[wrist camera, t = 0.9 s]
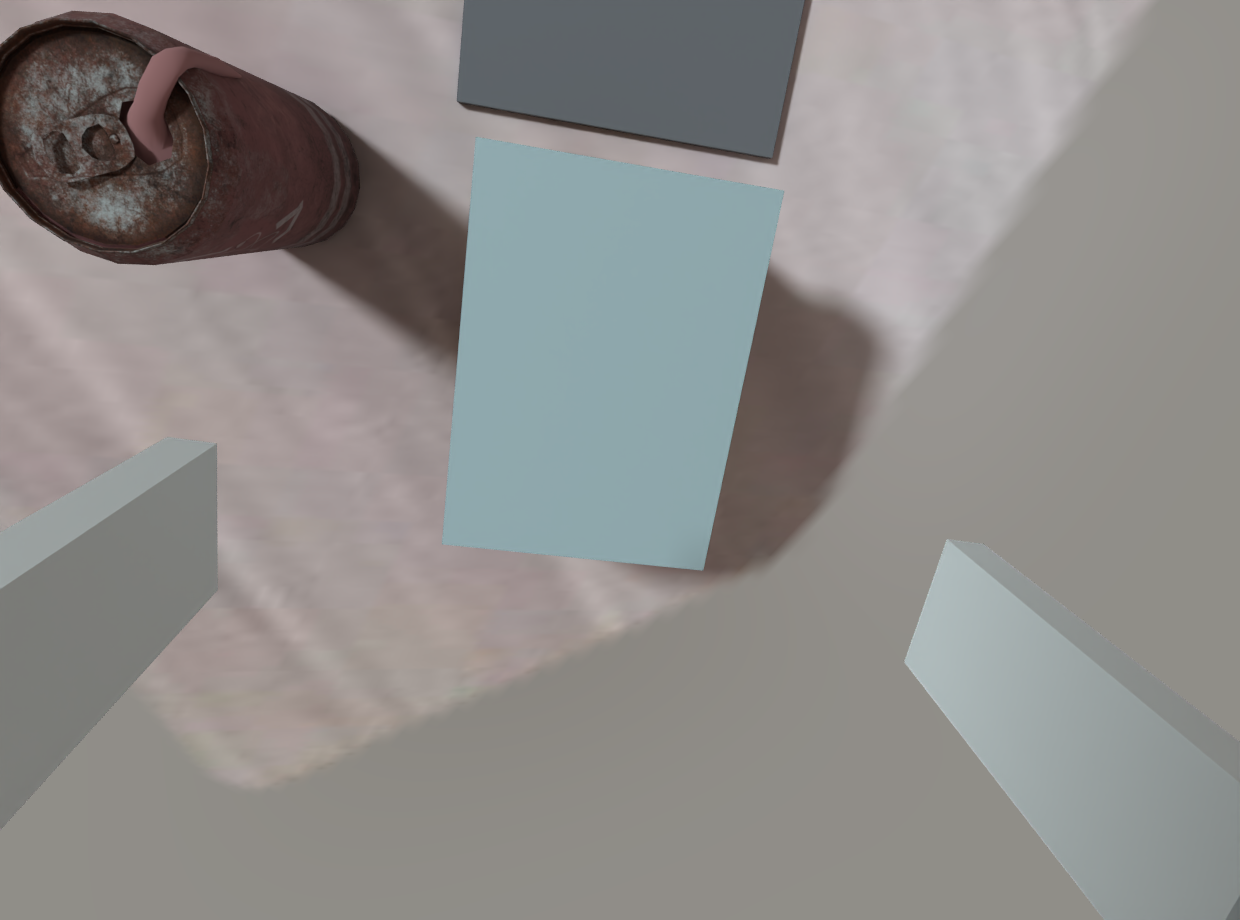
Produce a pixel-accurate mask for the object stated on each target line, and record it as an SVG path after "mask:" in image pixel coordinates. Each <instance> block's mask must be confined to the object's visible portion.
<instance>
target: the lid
mask: <svg viewBox="0 0 1240 920" xmlns="http://www.w3.org/2000/svg"><path fill="white" fill-rule="evenodd" d="M783 194H784V191H783V190H777V189H771V188H766V187H760V186H754V185H748V184H743V183H737V182H731V181H726V180H720V179H714V178H708V177H703V176H697V175H691V174H685V173H680V172H674V171H668V170H663V169H657V168H651V167H645V166H640V165H634V164H628V163H623V162H617V161H611V160H605V159H600V158H594V157H588V156H583V155H577V154H571V153H565V152H560V151H554V150H548V149H542V148H537V147H531V146H525V145H520V144H514V143H508V142H502V141H497V140H491V139H485V138H480V137H476V141H475V153H474V165H473V177H472V189H471V201H470V213H469V225H468V237H467V249H466V261H465V273H464V285H463V297H462V309H461V321H460V334H459V346H458V358H457V370H456V382H455V394H454V406H453V418H452V430H451V442H450V454H449V466H448V478H447V490H446V502H445V514H444V526H443V538H442V544H445V545H455V546H465V547H475V548H484V549H494V550H504V551H514V552H524V553H534V554H544V555H554V556H564V557H574V558H583V559H593V560H603V561H613V562H623V563H633V564H643V565H653V566H663V567H673V568H682V569H692V570H702V571H703V569H704V565H705V560H706V555H707V551H708V546H709V541H710V537H711V532H712V527H713V522H714V518H715V513H716V508H717V504H718V499H719V494H720V490H721V485H722V480H723V476H724V471H725V466H726V462H727V457H728V452H729V447H730V443H731V438H732V433H733V429H734V424H735V419H736V415H737V410H738V405H739V401H740V396H741V391H742V387H743V382H744V377H745V372H746V368H747V363H748V358H749V354H750V349H751V344H752V340H753V335H754V330H755V326H756V321H757V316H758V312H759V307H760V302H761V298H762V293H763V288H764V283H765V279H766V274H767V269H768V265H769V260H770V255H771V251H772V246H773V241H774V237H775V232H776V227H777V223H778V218H779V213H780V208H781V204H782V199H783Z"/></svg>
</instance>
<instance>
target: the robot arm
mask: <svg viewBox="0 0 1240 920" xmlns="http://www.w3.org/2000/svg"><path fill="white" fill-rule="evenodd" d="M217 590H218V578H217V443H210V442H202V441H194V440H187V439H179V438H171V437H167V438H165V439H163V440H161V441H160V442H158V443H156V444H154V445H153V446H151V447H149V448H147V449H146V450H144V451H142V452H140V453H138V454H137V455H135V456H133V457H131V458H130V459H128V460H126V461H124V462H123V463H121V464H119V465H117V466H116V467H114V468H112V469H110V470H109V471H107V472H105V473H103V474H102V475H100V476H98V477H96V478H95V479H93V480H91V481H89V482H88V483H86V484H84V485H82V486H81V487H79V488H77V489H75V490H74V491H72V492H70V493H68V494H67V495H65V496H63V497H61V498H60V499H58V500H56V501H54V502H53V503H51V504H49V505H47V506H46V507H44V508H42V509H40V510H39V511H37V512H35V513H33V514H32V515H30V516H28V517H26V518H25V519H23V520H21V521H19V522H18V523H16V524H14V525H12V526H11V527H9V528H7V529H5V530H4V531H2V532H0V830H1V829H2V828H3V827H4V825H5V824H6V823H7V822H8V821H9V820H10V819H11V818H12V817H13V816H14V814H15V813H16V812H17V811H18V810H19V809H20V808H21V807H22V806H23V804H24V803H25V802H26V801H27V800H28V799H29V798H30V797H31V796H32V795H33V793H34V792H35V791H36V790H37V789H38V788H39V787H40V786H41V785H42V783H43V782H44V781H45V780H46V779H47V778H48V777H49V776H50V775H51V773H52V772H53V771H54V770H55V769H56V768H57V767H58V766H59V765H60V763H61V762H62V761H63V760H64V759H65V758H66V757H67V756H68V755H69V754H70V753H71V751H72V750H73V749H74V748H75V747H76V746H77V745H78V744H79V743H80V741H81V740H82V739H83V738H84V737H85V736H86V735H87V734H88V733H89V731H90V730H91V729H92V728H93V727H94V726H95V725H96V724H97V723H98V721H99V720H100V719H101V718H102V717H103V716H104V715H105V714H106V713H107V712H108V711H109V709H110V708H111V707H112V706H113V705H114V704H115V703H116V702H117V701H118V699H119V698H120V697H121V696H122V695H123V694H124V693H125V692H126V691H127V690H128V688H129V687H130V686H131V685H132V684H133V683H134V682H135V681H136V680H137V678H138V677H139V676H140V675H141V674H142V673H143V672H144V671H145V670H146V669H147V667H148V666H149V665H150V664H151V663H152V662H153V661H154V660H155V659H156V658H157V656H158V655H159V654H160V653H161V652H162V651H163V650H164V649H165V648H166V646H167V645H168V644H169V643H170V642H171V641H172V640H173V639H174V638H175V637H176V635H177V634H178V633H179V632H180V631H181V630H182V629H183V628H184V627H185V625H186V624H187V623H188V622H189V621H190V620H191V619H192V618H193V617H194V616H195V614H196V613H197V612H198V611H199V610H200V609H201V608H202V607H203V606H204V604H205V603H206V602H207V601H208V600H209V599H210V598H211V597H212V596H213V595H214V593H215V592H216V591H217ZM904 662H905V664H906V665H907V666H908V668H909V669H910V670H911V671H912V673H913V674H914V675H915V676H916V678H917V679H918V680H919V682H920V683H921V684H922V685H923V687H924V688H925V689H926V691H927V692H928V693H929V695H930V696H931V697H932V699H933V700H934V701H935V702H936V704H937V705H938V706H939V708H940V709H941V710H942V711H943V713H944V714H945V715H946V717H947V718H948V719H949V720H950V722H951V723H952V724H953V725H954V727H955V728H956V729H957V731H958V732H959V733H960V735H961V736H962V737H963V738H964V740H965V741H966V742H967V744H968V745H969V746H970V747H971V749H972V750H973V751H974V753H975V754H976V755H977V756H978V758H979V759H980V760H981V762H982V763H983V764H984V766H985V767H986V768H987V769H988V771H989V772H990V773H991V775H992V776H993V777H994V778H995V780H996V781H997V782H998V783H999V785H1000V786H1001V787H1002V789H1003V790H1004V791H1005V793H1006V794H1007V795H1008V797H1009V798H1010V799H1011V800H1012V802H1013V803H1014V804H1015V806H1016V807H1017V808H1018V809H1019V811H1020V812H1021V813H1022V815H1023V816H1024V817H1025V818H1026V820H1027V821H1028V822H1029V823H1030V825H1031V826H1032V827H1033V829H1034V830H1035V831H1036V833H1037V834H1038V835H1039V836H1040V838H1041V839H1042V840H1043V841H1044V843H1045V844H1046V845H1047V847H1048V848H1049V849H1050V851H1051V852H1052V853H1053V855H1054V856H1055V857H1056V858H1057V860H1058V861H1059V862H1060V864H1061V865H1062V866H1063V867H1064V869H1065V870H1066V871H1067V872H1068V874H1069V875H1070V876H1071V878H1072V879H1073V880H1074V882H1075V883H1076V884H1077V885H1078V887H1079V888H1080V889H1081V891H1082V892H1083V893H1084V894H1085V896H1086V897H1087V898H1088V900H1089V901H1090V902H1091V904H1092V905H1093V906H1094V907H1095V909H1096V910H1097V911H1098V913H1099V914H1100V915H1101V916H1102V918H1103V919H1104V920H1240V741H1238V740H1237V739H1235V738H1234V737H1233V736H1232V735H1231V734H1229V733H1228V732H1227V731H1225V730H1224V729H1223V728H1221V727H1220V726H1219V725H1218V724H1216V723H1215V722H1214V721H1212V720H1211V719H1210V718H1208V717H1207V716H1206V715H1205V714H1203V713H1202V712H1201V711H1199V710H1198V709H1196V707H1194V706H1193V705H1192V704H1190V703H1189V702H1188V701H1186V700H1185V699H1184V698H1183V697H1181V696H1180V695H1178V694H1177V693H1176V692H1175V691H1173V690H1172V689H1171V688H1170V687H1168V686H1167V685H1166V684H1164V683H1163V682H1162V681H1161V680H1159V679H1158V678H1156V677H1155V676H1154V675H1153V674H1151V673H1150V672H1149V671H1148V670H1146V669H1145V668H1144V667H1142V666H1141V665H1140V664H1139V663H1137V662H1136V661H1135V660H1133V659H1132V658H1131V657H1129V656H1128V655H1127V654H1125V653H1124V652H1123V651H1122V650H1120V649H1119V648H1118V647H1117V646H1115V645H1114V644H1113V643H1111V642H1110V641H1109V640H1107V639H1106V638H1105V637H1104V636H1102V635H1101V634H1099V633H1098V632H1097V631H1096V630H1095V629H1093V628H1092V627H1091V626H1089V625H1088V624H1087V623H1085V622H1084V621H1083V620H1081V619H1080V618H1079V617H1078V616H1076V615H1075V614H1074V613H1072V612H1071V611H1070V610H1069V609H1067V608H1066V607H1064V606H1063V605H1062V604H1061V603H1060V602H1058V601H1057V600H1056V599H1054V598H1053V597H1052V596H1050V595H1049V594H1048V593H1047V592H1045V591H1044V590H1042V589H1041V588H1040V587H1039V586H1037V585H1036V584H1035V583H1034V582H1032V581H1031V580H1030V579H1028V578H1027V577H1026V576H1025V575H1023V574H1022V573H1021V572H1019V571H1018V570H1017V569H1015V568H1014V567H1013V566H1011V565H1010V564H1009V563H1008V562H1006V561H1005V560H1004V559H1003V558H1001V557H1000V556H999V555H997V554H996V553H995V552H993V551H992V550H991V549H989V548H988V547H987V546H986V545H984V544H980V543H972V542H964V541H957V540H949V539H947V541H946V544H945V546H944V549H943V552H942V555H941V558H940V561H939V564H938V567H937V570H936V572H935V575H934V578H933V581H932V584H931V587H930V590H929V592H928V596H927V598H926V601H925V604H924V607H923V610H922V613H921V615H920V618H919V621H918V624H917V627H916V630H915V633H914V635H913V638H912V641H911V644H910V647H909V650H908V653H907V656H906V658H905V661H904Z"/></svg>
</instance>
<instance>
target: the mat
mask: <svg viewBox="0 0 1240 920" xmlns="http://www.w3.org/2000/svg"><path fill="white" fill-rule="evenodd" d="M804 1H805V0H464V11H463V24H462V38H461V51H460V65H459V78H458V91H457V102H459V103H465V104H470V105H476V106H481V107H487V108H492V109H498V110H503V111H509V112H515V113H520V114H526V115H531V116H537V117H542V118H548V119H553V120H559V121H564V122H570V123H576V124H581V125H587V126H592V127H598V128H603V129H609V130H614V131H620V132H625V133H631V134H637V135H642V136H648V137H653V138H659V139H664V140H670V141H675V142H681V143H686V144H692V145H697V146H703V147H709V148H714V149H720V150H725V151H731V152H736V153H742V154H747V155H753V156H758V157H764V158H772V157H773V152H774V147H775V142H776V137H777V133H778V128H779V123H780V118H781V113H782V108H783V103H784V98H785V94H786V89H787V84H788V79H789V74H790V69H791V64H792V60H793V55H794V50H795V45H796V40H797V35H798V30H799V25H800V21H801V16H802V11H803V6H804Z"/></svg>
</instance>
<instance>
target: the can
mask: <svg viewBox="0 0 1240 920" xmlns="http://www.w3.org/2000/svg"><path fill="white" fill-rule="evenodd" d="M0 185H1V186H2V188H3V190H4V191H5V192H6V193H7V194H8V195H9V196H10V197H11V198H12V200H13V201H14V202H15V203H16V204H17V205H18V206H19V207H20V208H21V209H22V210H23V211H24V213H25V214H26V215H27V216H28V217H29V218H30V219H31V220H33V221H34V222H36V223H37V224H39V225H40V226H42V227H43V228H45V229H46V230H48V231H50V232H51V233H53V234H54V235H56V236H57V237H59V238H60V239H62V240H63V241H66V242H68V243H69V244H71V245H72V246H74V247H75V248H77V249H78V250H80V251H82V252H85V253H88V254H91V255H94V256H97V257H100V258H103V259H106V260H109V261H112V262H115V263H118V264H142V265H159V264H167V263H174V262H182V261H190V260H198V259H206V258H214V257H222V256H230V255H238V254H246V253H254V252H262V251H270V250H278V249H286V248H293V247H301V246H307V245H310V244H314V243H317V242H320V241H324V240H326V239H328V238H329V237H330V236H332V235H333V234H334V233H336V232H337V231H338V230H340V229H341V228H342V227H343V226H344V224H345V223H346V221H347V220H348V218H349V217H350V215H351V214H352V212H353V211H354V209H355V205H356V201H357V197H358V193H359V189H360V181H359V167H358V161H357V159H356V156H355V153H354V151H353V148H352V145H351V143H350V140H349V138H348V137H347V136H346V134H345V133H344V132H343V130H342V129H341V128H340V126H339V125H338V123H337V122H336V121H335V119H334V118H332V117H331V116H330V115H329V114H327V113H326V112H325V111H323V110H322V109H321V108H320V107H318V106H317V105H316V104H315V103H313V102H311V101H309V100H306V99H304V98H302V97H300V96H298V95H296V94H293V93H291V92H289V91H287V90H285V89H283V88H280V87H278V86H276V85H274V84H272V83H269V82H267V81H265V80H263V79H261V78H259V77H256V76H254V75H252V74H250V73H248V72H245V71H243V70H241V69H239V68H237V67H235V66H232V65H230V64H228V63H226V62H224V61H221V60H220V59H218V58H217V57H214V56H211V55H208V54H206V53H204V52H202V51H200V50H197V49H195V48H193V47H191V46H189V45H187V44H184V43H182V42H180V41H178V40H176V39H173V38H171V37H169V36H167V35H165V34H163V33H160V32H158V31H156V30H154V29H151V28H149V27H146V26H144V25H141V24H139V23H136V22H134V21H131V20H129V19H126V18H123V17H121V16H118V15H116V14H112V13H97V12H82V11H70V12H67V13H64V14H60V15H57V16H54V17H51V18H47V19H44V20H41V21H37V22H35V23H34V24H32V25H28V26H25V27H22V28H19V29H18V30H17V31H16V32H15V33H14V34H12V35H11V36H10V37H9V38H8V39H6V40H5V41H4V42H3V43H2V44H0Z"/></svg>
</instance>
